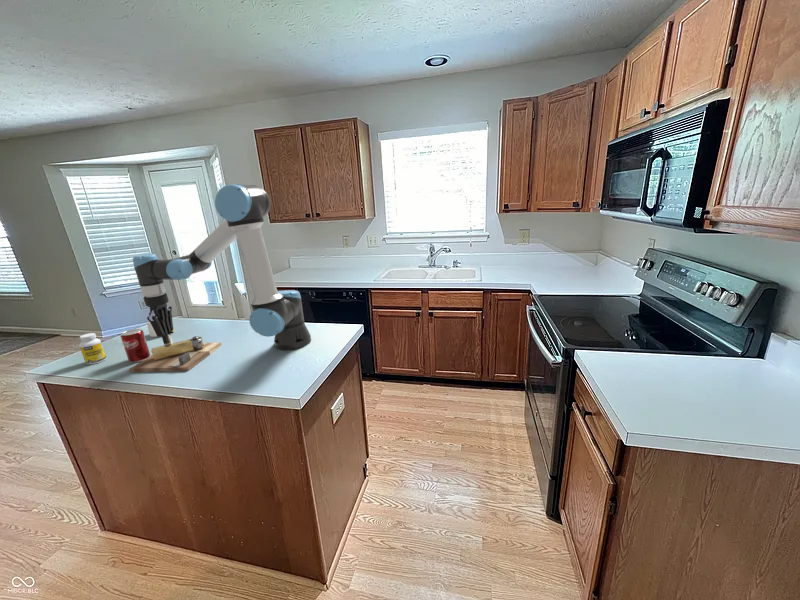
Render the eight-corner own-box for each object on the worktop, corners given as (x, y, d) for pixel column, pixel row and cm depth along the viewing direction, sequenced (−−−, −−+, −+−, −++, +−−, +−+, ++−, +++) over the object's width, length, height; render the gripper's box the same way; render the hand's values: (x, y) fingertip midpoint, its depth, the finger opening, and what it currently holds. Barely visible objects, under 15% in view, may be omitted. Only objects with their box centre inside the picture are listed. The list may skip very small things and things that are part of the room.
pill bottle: (83, 366, 132) (73, 339, 129) (89, 360, 138) (79, 334, 134) (104, 362, 135) (95, 336, 132) (108, 356, 141) (100, 330, 137)
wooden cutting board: (221, 345, 145) (219, 336, 144) (188, 370, 124) (185, 359, 123) (171, 347, 146) (169, 337, 145) (130, 372, 125) (127, 361, 124)
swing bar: (203, 344, 142) (200, 334, 141) (204, 347, 139) (201, 337, 137) (154, 356, 133) (151, 345, 131) (154, 360, 129) (151, 349, 128)
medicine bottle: (164, 336, 159) (158, 313, 156) (150, 337, 159) (143, 313, 156) (174, 330, 166) (168, 308, 163) (160, 331, 166) (154, 308, 163)
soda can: (139, 363, 132) (130, 335, 129) (124, 362, 134) (115, 335, 130) (155, 355, 139) (147, 328, 135) (141, 354, 140) (132, 328, 137)
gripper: (154, 290, 134) (169, 343, 142) (133, 300, 122) (151, 357, 129) (173, 289, 135) (187, 342, 142) (155, 298, 123) (171, 356, 130)
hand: (170, 349), depth 136 cm, fingers closed
